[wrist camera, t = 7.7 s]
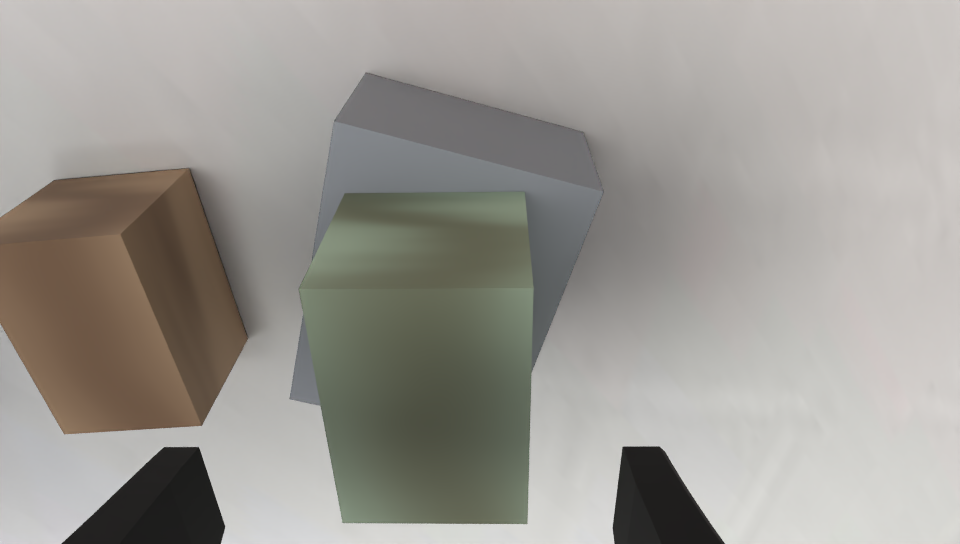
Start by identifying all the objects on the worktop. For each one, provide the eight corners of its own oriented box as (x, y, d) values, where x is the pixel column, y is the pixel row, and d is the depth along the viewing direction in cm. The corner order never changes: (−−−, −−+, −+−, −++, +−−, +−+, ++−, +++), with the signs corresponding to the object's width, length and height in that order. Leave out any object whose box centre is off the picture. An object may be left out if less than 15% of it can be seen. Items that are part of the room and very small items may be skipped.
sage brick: (372, 398, 18) (342, 523, 14) (344, 193, 15) (298, 289, 11) (521, 398, 18) (527, 524, 14) (524, 191, 15) (533, 287, 11)
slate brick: (322, 314, 21) (289, 398, 18) (366, 72, 17) (333, 121, 14) (501, 355, 22) (502, 444, 19) (583, 131, 18) (603, 192, 15)
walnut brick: (131, 347, 22) (64, 434, 19) (53, 180, 19) (-44, 248, 16) (247, 338, 22) (201, 425, 18) (189, 168, 19) (120, 234, 15)
